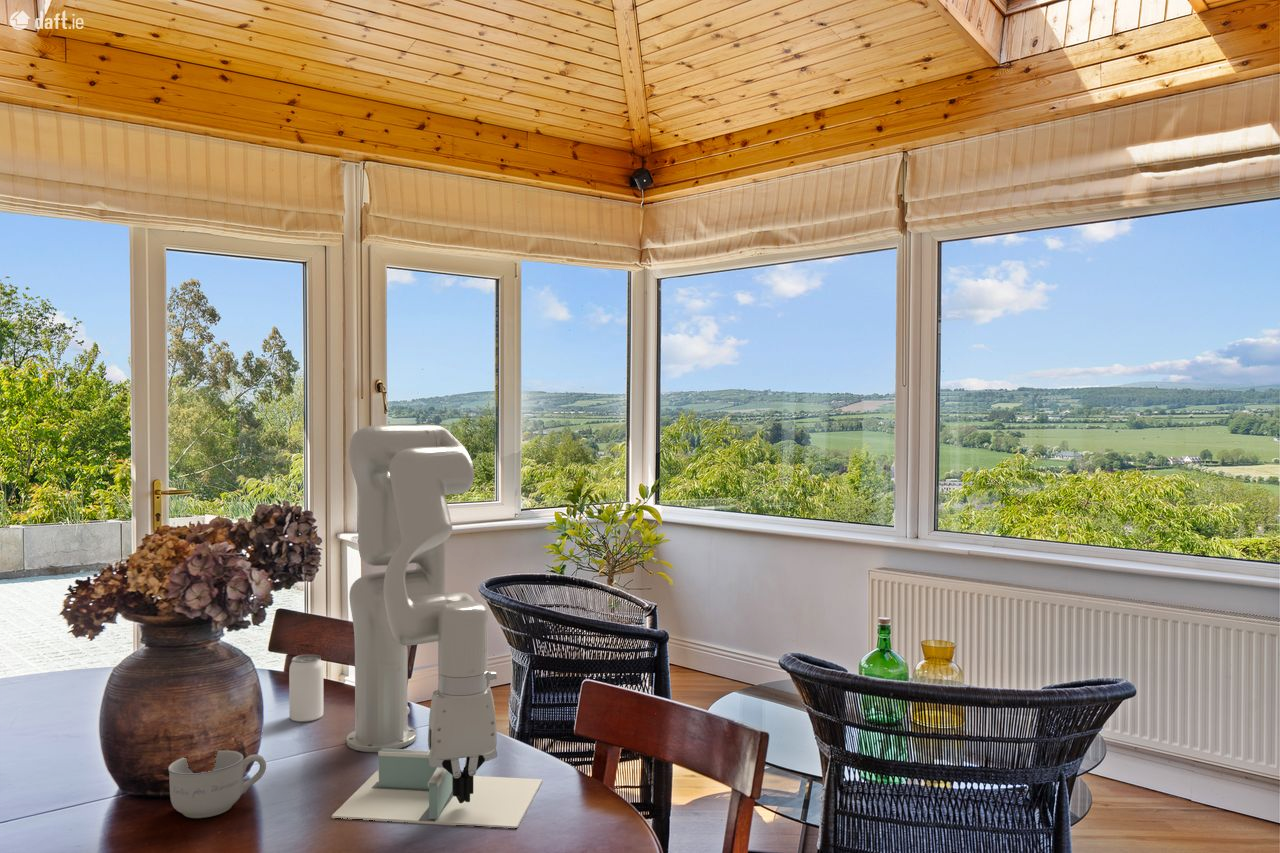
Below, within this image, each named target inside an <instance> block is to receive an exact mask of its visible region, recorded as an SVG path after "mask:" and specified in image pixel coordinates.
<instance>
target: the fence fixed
mask: <svg viewBox="0 0 1280 853" xmlns="http://www.w3.org/2000/svg"><path fill="white" fill-rule="evenodd" d="M377 754H378V771H379V787H398V788H417V789H429V787H428V782H429V780H430V779H431V777H432V775H433V774H434V772H435V770H436V769H437V767H431V766H429V764H428V758H429V754H430V750H423V749H422V750H421V749H418V750H417V749H416V750H415V749H402V748H399V749H381V750H380V751H379V752H377Z"/></svg>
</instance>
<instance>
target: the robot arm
mask: <svg viewBox="0 0 1280 853" xmlns="http://www.w3.org/2000/svg"><path fill="white" fill-rule="evenodd" d="M348 457H349V464H350V468H351V471H352V474H353V478H354V480H355V484H356V488H357V497H358V499H357V500H358V501H357V502H358V504H357V505H358V506H357V507H358V508H357V509H358V510H357V514H358V515H357V519H358V520H357V521H358V522H357V523H358V524H357V525H358V526H357V527H358V530H357V532H358V533H357V535H358V537H357V538H358V539H357V542H358V554H359V557H360V558H361V561H362V563H364V564H366V565H368V566H373V567H386V569H385V571H383V572H381V571H380V572H374V573H369V574H366V575H362V576H360V577H359V578H356V580H355V581H353V583H352V584H351V587H350V589H349V593H348V594H349V596H348V597H349V607H350V612H351V618H352V624H353V625H352V626H353V632H354V633H353V634H354V635H353V636H354V712H355V713H354V719H355V721H354V722H355V723H354V724H355V725H354V726H355V727H354V729H355V730H353V731H351V732H350V733H349V734H348V735H347V736H346V745H347V746H348V747H349V749H351V750H352V749H353V750H355V751H359V752H365V753H378V752H379V751H380V750H381V749H402V748H403V749H404V748H405V747H409V745H411V744H413V743H414V742H415V741H416V739H417V731H416V730H415V728H413V727H412V726H409V725H408V720H409V719H408V715H409V714H410V712H411V709H410V707H409V706H408V699H409V697H408V696H409V694H408V687H409V686H408V682H409V681H408V653H409V652H408V646H415V645H416V646H417V645H423V644H424V645H425V644H431V643H436V642H438V643H437V644H438V646H437V647H438V649H437V650H438V651H437V652H438V654H437V655H438V658H437V664H438V667H437V668H438V669H437V671H438V674H437V676H438V677H437V678H438V679H437V681H438V684H437V685H438V686H437V687H438V688H437V689H436V690H434V691H433V692H432V695H431V696H432V697H431V701H430V702H431V703H430V707H429V716H428V717H429V718H428V729H427V730H428V733H427V735H428V736H427V745H428V746H427V748H428V751H430V754H429V758H428V764H429V766H431V767H438V768H445V769H446V770H447V771H448V772H449V773H450V774H452V791H453V796H456V797H457V799H458V801H459V803H463V802H464V801H465V802H470V794H473V776H476V774H477V771H478V770H479V768H481V766H482V765H483V764H484V763H486V762H489V761H491V760H494V759H496V758H497V757H498V750H497V742H498V737H497V736H498V735H497V734H498V733H497V721H496V719H497V718H496V710H495V701H494V696H493V691H492V689H491V687H490V683H491V682H494V681H497V672H496V671H489V670H488V627H489V626H488V610H487V608H486V606H485V604H482V603H480V602H478V601H475V599H474V598H473V597H472V596H471V595H470V594H468V592H464V591H463V592H462V591H458V592H457V591H456V592H446V540H448V539H449V538H450V536H452V533H453V522H452V520H451V515H450V511H449V506H448V502H447V496H446V495H460V494H465V493H467V492H469V491H470V490H471V489H472V486H473V485H474V481H475V469H474V464H473V460H472V457H471V455H470V454H469V452H468V450H467V449H466V448H465V446H464V445H463V444H462V443H461V442H460V441H459V439H457V438H456V437H455V436H454V435H453V434H452V433H451V432H450V431H449V430H448V429H447V428H446V427H443V426H442V425H437V424H379V425H378V424H377V425H368V426H365V427H361V428H359V429H357V430H356V431H355V432H354V433H353V435H352V436H351V439H350V441H349V449H348ZM409 564H415V566H416V568H415V569H408V566H409ZM464 758H465V764H464V767H463V769H461V766H460V759H464Z"/></svg>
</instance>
